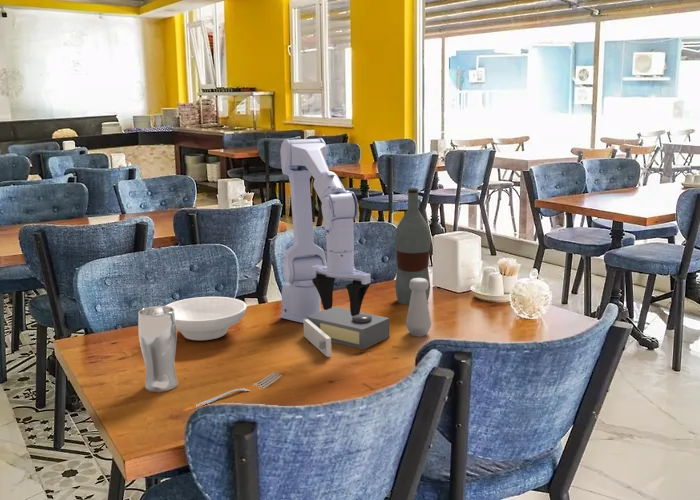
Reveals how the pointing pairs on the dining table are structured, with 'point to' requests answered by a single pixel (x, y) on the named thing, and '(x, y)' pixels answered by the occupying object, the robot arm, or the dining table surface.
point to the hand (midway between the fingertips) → (341, 311)
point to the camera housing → (351, 327)
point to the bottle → (411, 249)
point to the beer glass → (158, 347)
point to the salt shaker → (418, 308)
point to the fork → (243, 389)
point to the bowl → (207, 316)
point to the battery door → (317, 337)
